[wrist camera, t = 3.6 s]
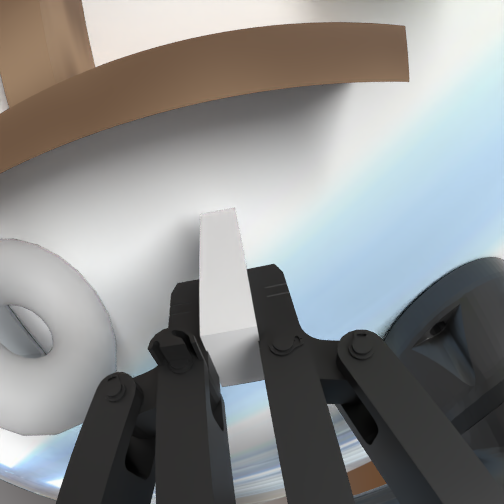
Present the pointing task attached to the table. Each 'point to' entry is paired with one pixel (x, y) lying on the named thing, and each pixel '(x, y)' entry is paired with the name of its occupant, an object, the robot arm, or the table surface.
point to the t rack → (164, 71)
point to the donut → (64, 342)
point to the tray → (17, 336)
